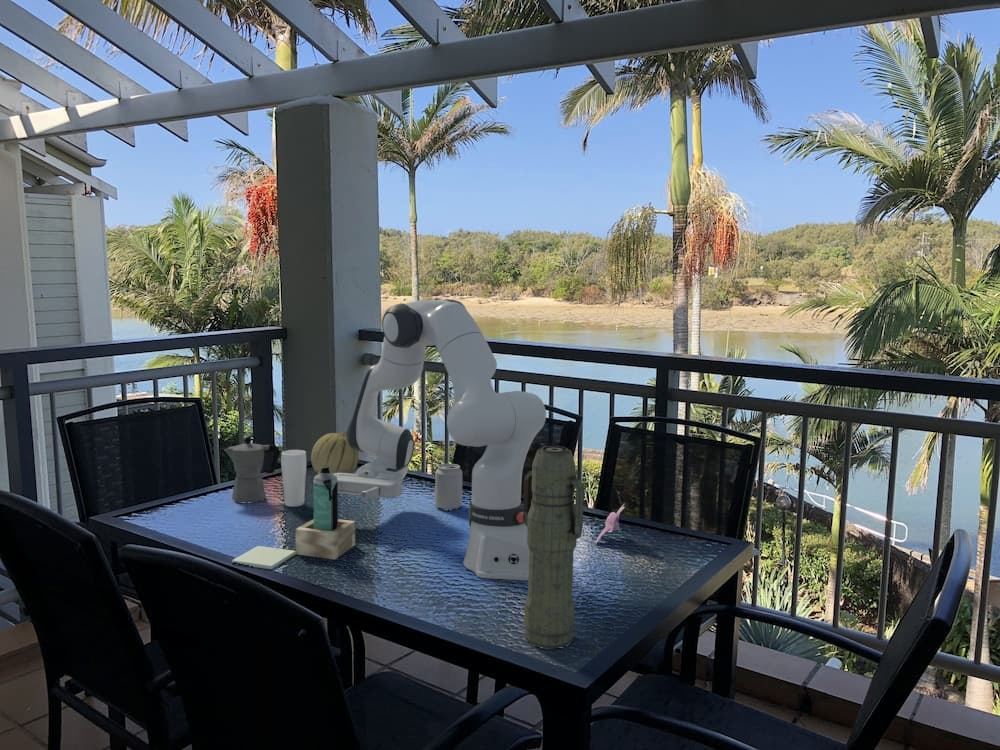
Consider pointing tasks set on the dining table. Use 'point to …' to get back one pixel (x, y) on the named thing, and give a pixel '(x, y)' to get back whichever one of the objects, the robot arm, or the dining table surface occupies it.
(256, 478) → the coffeepot
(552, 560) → the olive green cylinder
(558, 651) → the dining table surface
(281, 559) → the sage pad
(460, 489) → the can
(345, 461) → the cantaloupe
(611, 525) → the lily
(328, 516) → the spray can
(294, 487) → the drinking glass
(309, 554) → the can holder
